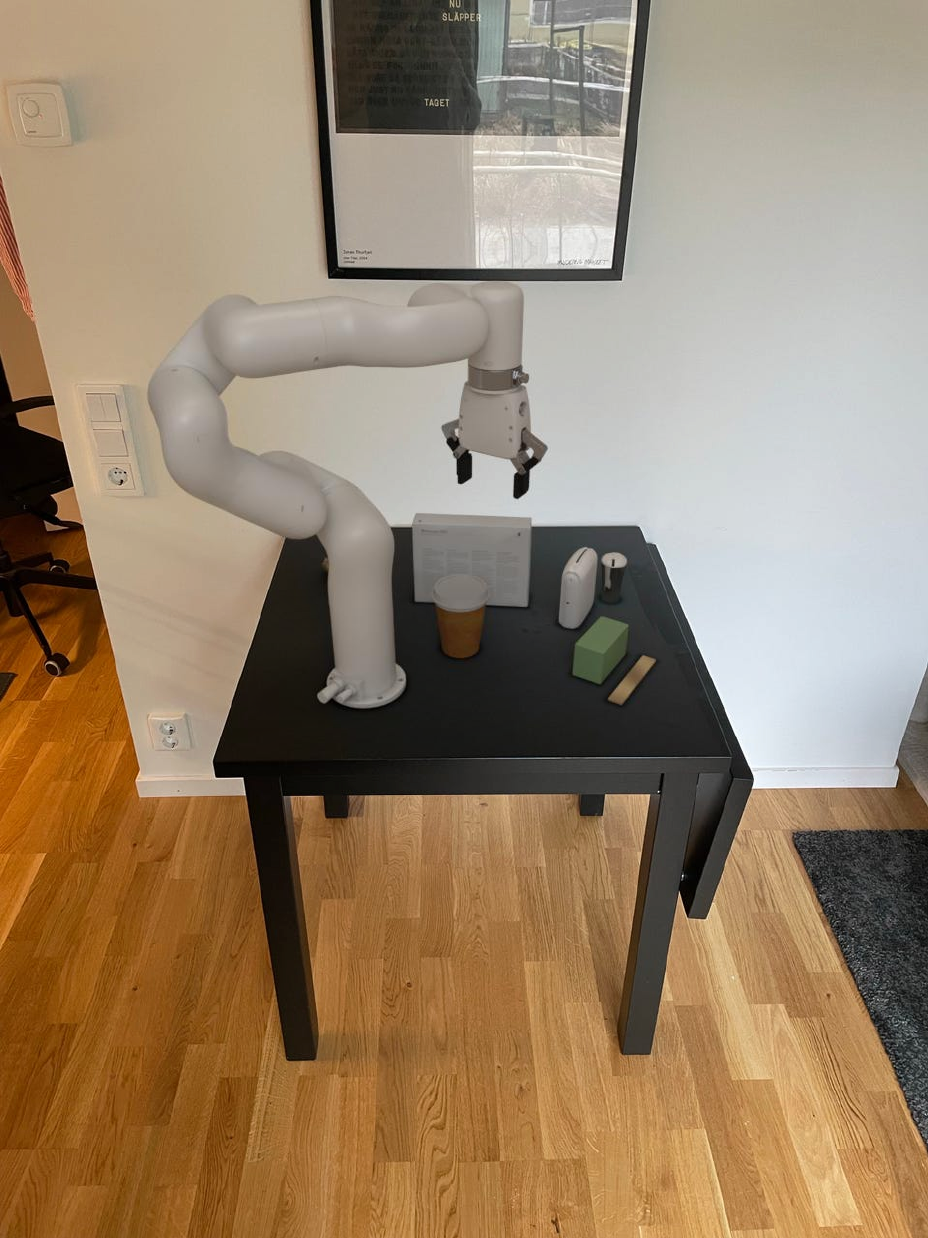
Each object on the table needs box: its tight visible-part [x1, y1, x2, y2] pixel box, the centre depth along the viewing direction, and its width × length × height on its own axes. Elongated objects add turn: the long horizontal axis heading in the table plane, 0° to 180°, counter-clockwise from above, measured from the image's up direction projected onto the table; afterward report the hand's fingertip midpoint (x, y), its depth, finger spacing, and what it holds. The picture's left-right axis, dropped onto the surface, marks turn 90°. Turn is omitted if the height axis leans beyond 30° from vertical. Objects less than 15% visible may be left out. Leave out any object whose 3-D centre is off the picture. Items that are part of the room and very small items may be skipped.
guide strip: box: [607, 655, 657, 706], centre depth 146 cm, size 14×2×1 cm, turn 148°
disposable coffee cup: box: [431, 574, 489, 659], centre depth 150 cm, size 10×10×12 cm
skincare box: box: [411, 512, 533, 608], centre depth 163 cm, size 21×5×16 cm, turn 84°
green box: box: [571, 615, 630, 685], centre depth 148 cm, size 5×10×6 cm, turn 148°
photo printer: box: [558, 546, 598, 630], centre depth 159 cm, size 10×4×12 cm, turn 156°
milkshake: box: [600, 551, 628, 604], centre depth 164 cm, size 5×5×10 cm
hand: (492, 488), depth 136 cm, fingers open, 9 cm apart
